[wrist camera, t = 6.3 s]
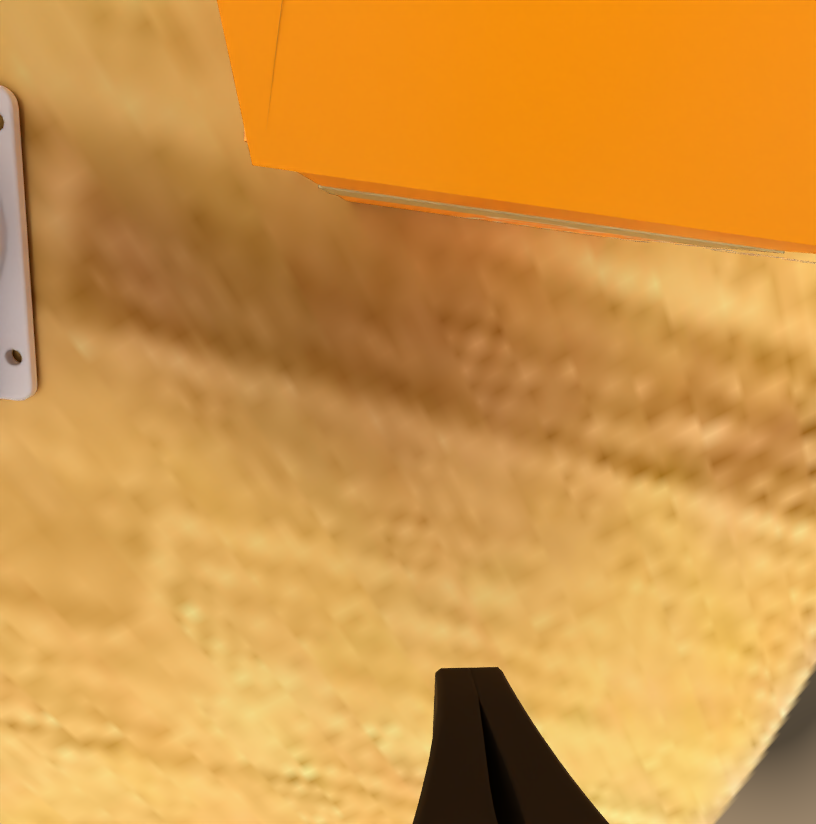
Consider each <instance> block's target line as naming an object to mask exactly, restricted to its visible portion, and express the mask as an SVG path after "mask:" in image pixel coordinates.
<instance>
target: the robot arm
mask: <svg viewBox="0 0 816 824" xmlns="http://www.w3.org/2000/svg"><path fill="white" fill-rule="evenodd" d="M0 115H1V116H2V117H3V120H4V127H3V128H2V129H1V130H0V399H8V400H17V401H19V400H25V399H27V398H29V397H31V396H33V395H34V394H35V393H36V391H37V386H38V385H37V370H36V356H35V341H34V326H33V311H32V297H31V282H30V267H29V252H28V237H27V223H26V208H25V193H24V178H23V164H22V149H21V134H20V119H19V106H18V102H17V99H16V97H15V96H14V94H13V93H12V92H11V91H10V90H9V89H8V88H6V87H4V86H1V85H0ZM13 350H16V351H18V352H19V353H20V354H21V357H22V361H21V362H18V361H16V360H15V359H14V358H13V355H12V352H13ZM413 824H609V823H608V822H607V821H606V820H605V818H604V817H603V816H602V815H601V814H600V812H599V811H598V810H597V809H596V808H595V806H594V805H593V804H592V803H591V801H590V800H589V799H588V798H587V797H586V795H585V794H584V793H583V791H582V790H581V789H580V788H579V786H578V785H577V784H576V782H575V781H574V780H573V779H572V777H571V776H570V775H569V773H568V772H567V771H566V769H565V768H564V767H563V765H562V764H561V763H560V761H559V760H558V758H557V757H556V756H555V754H554V753H553V751H552V750H551V748H550V747H549V746H548V744H547V743H546V741H545V740H544V738H543V737H542V736H541V734H540V733H539V731H538V730H537V728H536V727H535V725H534V724H533V722H532V721H531V719H530V717H529V716H528V714H527V713H526V711H525V710H524V708H523V706H522V705H521V703H520V701H519V700H518V698H517V697H516V695H515V693H514V691H513V690H512V688H511V686H510V685H509V683H508V681H507V679H506V677H505V676H504V674H503V672H502V671H501V670H500V669H499V668H498V667H483V668H441V669H440V670H438V671H437V672H436V673H435V696H434V719H433V739H432V745H431V751H430V757H429V762H428V766H427V770H426V774H425V779H424V783H423V787H422V791H421V795H420V799H419V803H418V807H417V810H416V814H415V817H414V821H413Z"/></svg>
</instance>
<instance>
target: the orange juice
mask: <svg viewBox="0 0 816 824" xmlns="http://www.w3.org/2000/svg"><path fill="white" fill-rule="evenodd" d="M217 2H218V7H219V12H220V16H221V21H222V26H223V30H224V35H225V40H226V44H227V49H228V54H229V58H230V63H231V68H232V72H233V77H234V82H235V86H236V91H237V96H238V100H239V105H240V110H241V114H242V119H243V124H244V128H245V132H244V141H245V142H247V143H248V147H249V151H250V156H251V161H252V165H255V166H262V167H269V168H276V169H283V170H290V171H296V172H298V173H300V174H302V175H303V176H305V177H307V178H308V179H310V180H312V181H314V182H315V183H317V184H319V185H318V188H320V189H322V190H324V191H326V192H327V193H329V194H334V195H338V196H339V197H341V198H343V199H344V200H346V201H350V202H357V203H365V204H372V205H379V206H386V207H393V208H400V209H407V210H415V211H422V212H429V213H436V214H443V215H450V216H453V217H455V216H458V217H461V218H463V217H465V218H469V219H479V220H486V221H493V222H500V223H507V224H515V225H521V226H529V227H536V228H543V229H551V230H558V231H565V232H572V233H579V234H586V235H594V236H601V237H608V238H614V239H616V238H618V239H619V238H620V239H622V240H623V239H625V240H626V239H628V240H629V241H630V239H633V240H632V241H634V240H636V241H637V240H645V241H656V242H664V243H665V242H670V243H683V244H690V245H687V246H695V245H697V246H699V247H703V246H704V247H708V248H709V247H713V248H716V249H713V250H715V251H720V250H719V249H718V248H725V249H737V250H749V251H761V252H773V253H784V252H785V251H788V252H801V253H813V254H816V0H217ZM637 242H638V241H637ZM640 242H644V241H640ZM647 243H650V242H647ZM677 245H682V244H677ZM708 248H706V249H708ZM725 249H723V250H725ZM725 251H726V252H728V251H732V250H725ZM722 252H724V251H722ZM729 253H731V252H729ZM734 253H737V252H734ZM737 254H738V253H737ZM741 254H743V253H741ZM746 254H748V255H750V254H751V253H744V255H746ZM757 255H759V254H757ZM757 255H754V254H752V256H757ZM759 256H761V255H759ZM765 256H767V255H765ZM767 257H769V256H767ZM772 257H775V256H772ZM776 258H782V257H776ZM785 260H791V259H789V258H787V259H785ZM794 260H796V259H794ZM794 260H791V261H794ZM797 261H799V262H800V260H797ZM804 262H805V261H804ZM808 262H809V261H806V263H808ZM811 263H812V262H811ZM815 263H816V262H815ZM815 263H814V264H815Z"/></svg>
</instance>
